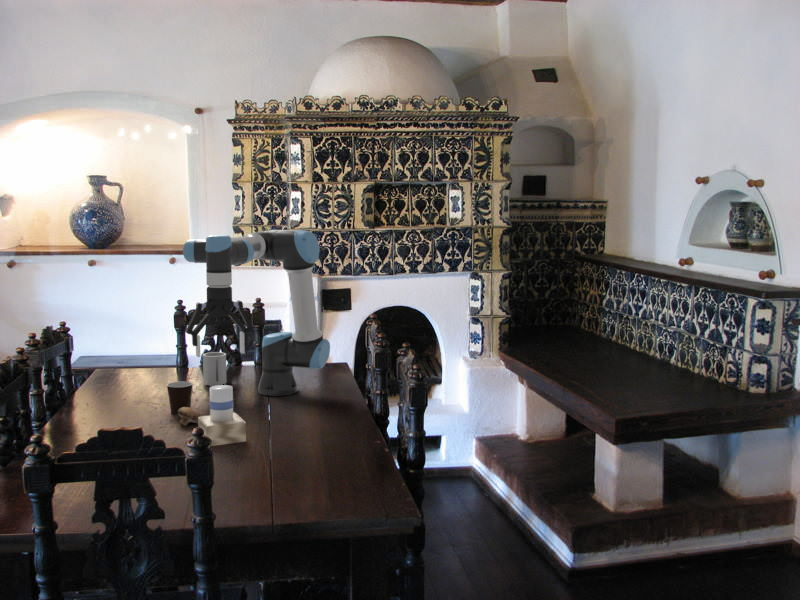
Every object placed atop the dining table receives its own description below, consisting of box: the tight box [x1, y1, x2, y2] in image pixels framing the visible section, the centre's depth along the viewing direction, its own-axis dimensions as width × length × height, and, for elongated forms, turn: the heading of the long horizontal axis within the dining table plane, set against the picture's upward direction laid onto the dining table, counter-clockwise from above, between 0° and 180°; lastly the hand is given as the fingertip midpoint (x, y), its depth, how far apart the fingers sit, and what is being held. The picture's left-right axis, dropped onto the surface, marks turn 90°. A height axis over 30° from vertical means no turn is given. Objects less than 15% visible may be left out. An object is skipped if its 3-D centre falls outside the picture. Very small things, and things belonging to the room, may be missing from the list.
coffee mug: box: [166, 381, 194, 416], centre depth 265 cm, size 12×9×10 cm
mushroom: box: [178, 406, 201, 426], centre depth 249 cm, size 8×8×6 cm
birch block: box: [197, 412, 247, 447], centre depth 234 cm, size 12×12×6 cm
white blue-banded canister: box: [209, 384, 234, 422], centre depth 233 cm, size 7×7×10 cm
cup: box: [202, 351, 228, 387], centre depth 306 cm, size 9×9×12 cm
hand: (220, 354), depth 231 cm, fingers open, 13 cm apart
